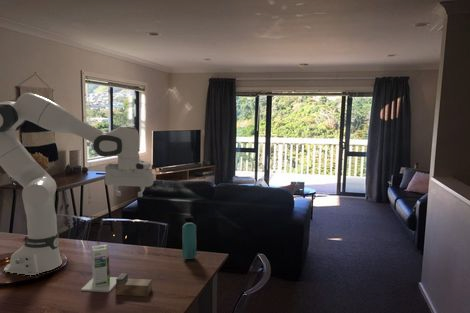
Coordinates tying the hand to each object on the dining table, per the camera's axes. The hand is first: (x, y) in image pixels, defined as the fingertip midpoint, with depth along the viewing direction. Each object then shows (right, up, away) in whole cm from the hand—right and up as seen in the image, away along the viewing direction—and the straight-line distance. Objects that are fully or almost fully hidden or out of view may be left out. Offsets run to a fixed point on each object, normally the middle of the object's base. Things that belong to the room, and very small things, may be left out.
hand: (129, 196), depth 156 cm
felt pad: (-6, -33, -15) cm, 36 cm away
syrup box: (-7, -32, -15) cm, 36 cm away
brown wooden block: (+8, -34, -20) cm, 40 cm away
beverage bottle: (+24, -30, +11) cm, 40 cm away
